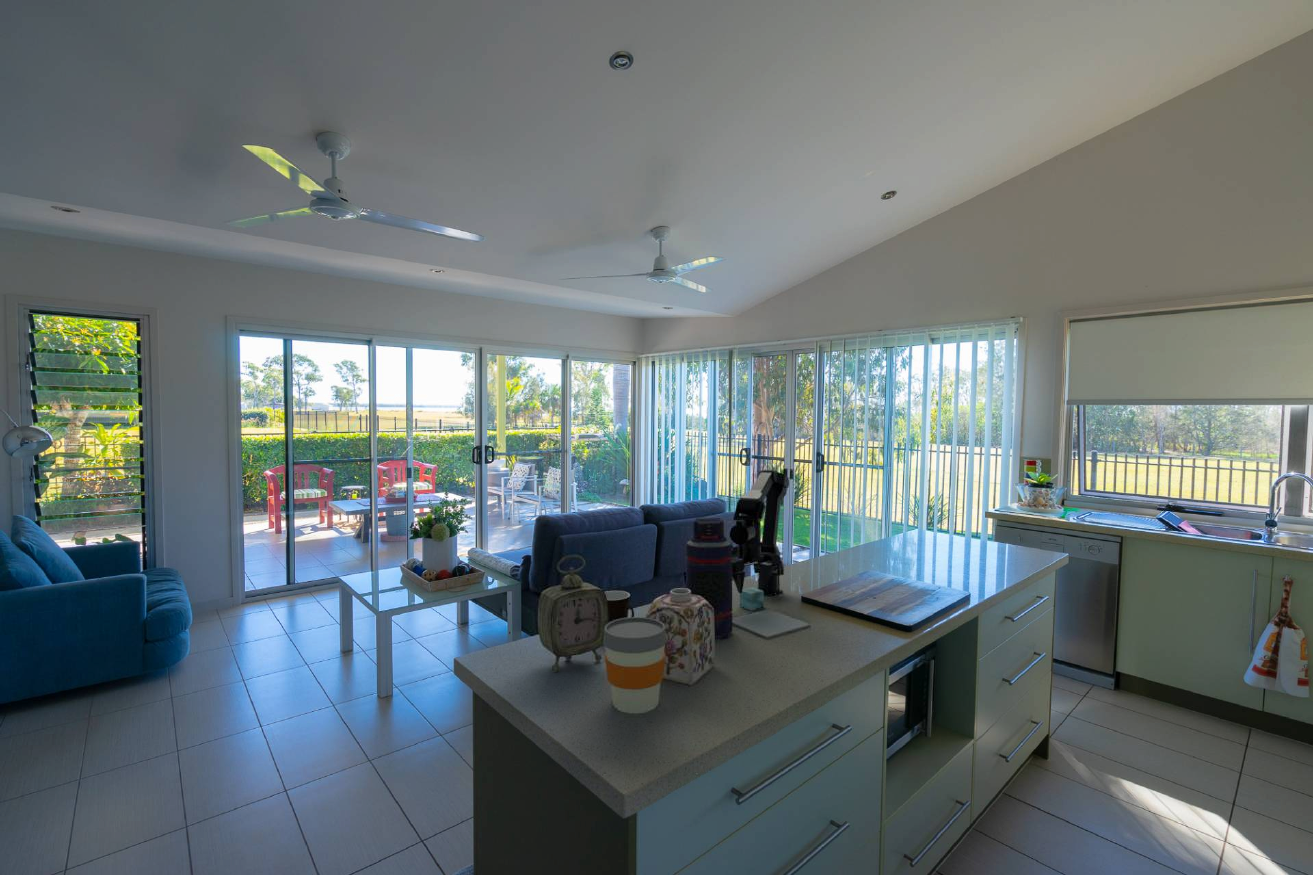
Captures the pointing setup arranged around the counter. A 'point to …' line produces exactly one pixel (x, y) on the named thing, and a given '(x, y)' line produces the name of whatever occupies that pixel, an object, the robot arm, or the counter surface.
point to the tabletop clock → (572, 616)
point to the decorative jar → (686, 634)
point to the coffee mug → (618, 605)
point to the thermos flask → (711, 570)
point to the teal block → (752, 598)
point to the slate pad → (768, 623)
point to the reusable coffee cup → (635, 662)
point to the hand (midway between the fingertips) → (751, 590)
